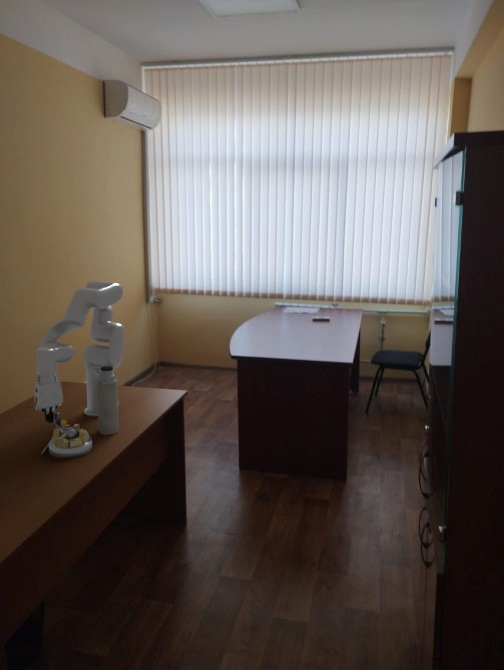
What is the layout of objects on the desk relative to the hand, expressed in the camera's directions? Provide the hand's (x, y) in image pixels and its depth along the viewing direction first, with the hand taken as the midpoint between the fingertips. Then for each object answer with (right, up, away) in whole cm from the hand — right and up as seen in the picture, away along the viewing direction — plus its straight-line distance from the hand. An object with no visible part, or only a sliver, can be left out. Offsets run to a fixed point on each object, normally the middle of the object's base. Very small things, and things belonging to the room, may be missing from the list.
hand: (49, 421), depth 216 cm
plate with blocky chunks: (+11, -9, -7) cm, 15 cm away
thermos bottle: (+21, -6, +10) cm, 24 cm away
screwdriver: (+2, -8, -1) cm, 8 cm away
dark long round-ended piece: (+8, -5, -5) cm, 11 cm away
